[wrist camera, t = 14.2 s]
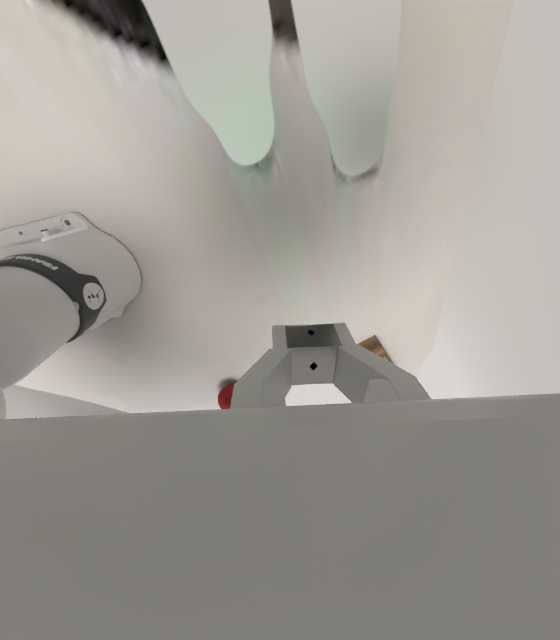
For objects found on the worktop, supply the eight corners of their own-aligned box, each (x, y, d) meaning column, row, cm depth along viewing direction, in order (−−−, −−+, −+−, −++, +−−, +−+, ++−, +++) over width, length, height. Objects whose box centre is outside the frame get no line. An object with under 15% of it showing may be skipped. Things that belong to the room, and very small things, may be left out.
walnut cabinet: (355, 359, 51) (378, 391, 56) (382, 346, 49) (403, 379, 55) (350, 347, 55) (372, 378, 60) (374, 334, 53) (394, 366, 58)
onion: (221, 375, 57) (215, 403, 50) (246, 378, 58) (242, 405, 51) (220, 393, 60) (214, 421, 53) (243, 395, 61) (240, 423, 54)
